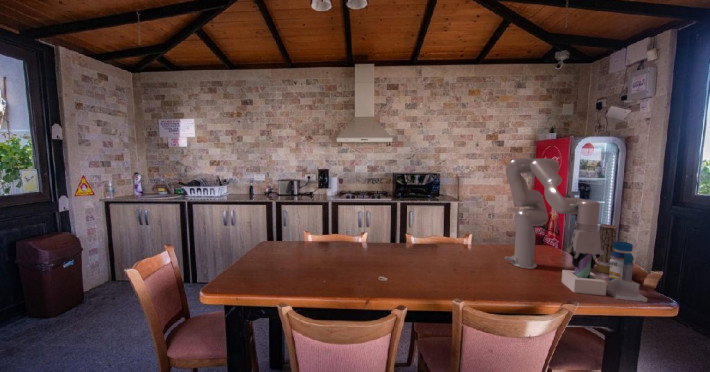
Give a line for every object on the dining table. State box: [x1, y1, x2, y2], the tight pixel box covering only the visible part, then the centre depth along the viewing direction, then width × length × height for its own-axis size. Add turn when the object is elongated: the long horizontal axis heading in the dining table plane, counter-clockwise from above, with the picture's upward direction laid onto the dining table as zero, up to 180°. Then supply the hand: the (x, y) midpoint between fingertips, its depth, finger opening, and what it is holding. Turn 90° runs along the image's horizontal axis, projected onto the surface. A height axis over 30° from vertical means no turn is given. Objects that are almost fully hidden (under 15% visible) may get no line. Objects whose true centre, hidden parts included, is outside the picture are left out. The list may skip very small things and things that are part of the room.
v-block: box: [606, 278, 648, 303], centre depth 130 cm, size 11×11×6 cm
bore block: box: [561, 269, 608, 296], centre depth 135 cm, size 12×12×6 cm
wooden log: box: [595, 223, 618, 275], centre depth 157 cm, size 7×7×25 cm
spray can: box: [574, 253, 592, 279], centre depth 135 cm, size 6×6×20 cm
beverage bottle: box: [607, 241, 635, 282], centre depth 140 cm, size 8×8×20 cm
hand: (582, 266), depth 135 cm, fingers closed on spray can, 5 cm apart
